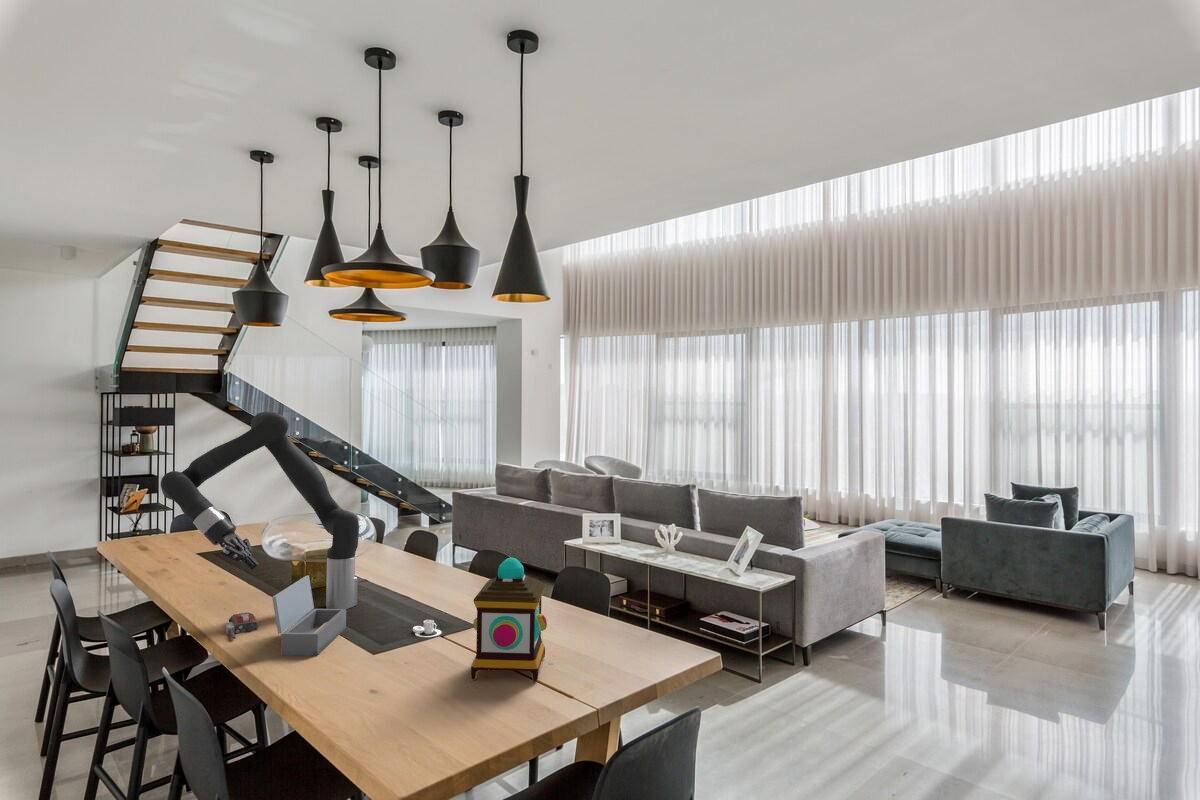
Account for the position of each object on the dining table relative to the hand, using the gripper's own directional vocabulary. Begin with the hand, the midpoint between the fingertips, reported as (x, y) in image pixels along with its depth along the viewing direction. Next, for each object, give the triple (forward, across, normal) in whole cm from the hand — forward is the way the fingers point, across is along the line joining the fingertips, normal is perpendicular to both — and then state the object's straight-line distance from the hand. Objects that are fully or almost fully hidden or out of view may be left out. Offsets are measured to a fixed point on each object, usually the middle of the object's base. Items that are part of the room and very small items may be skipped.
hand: (255, 567), depth 207 cm
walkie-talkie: (+10, +10, +22) cm, 26 cm away
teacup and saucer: (+50, +11, -18) cm, 55 cm away
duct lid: (+16, 0, -1) cm, 16 cm away
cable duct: (+28, 0, +3) cm, 28 cm away
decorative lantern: (+70, -21, -39) cm, 83 cm away
